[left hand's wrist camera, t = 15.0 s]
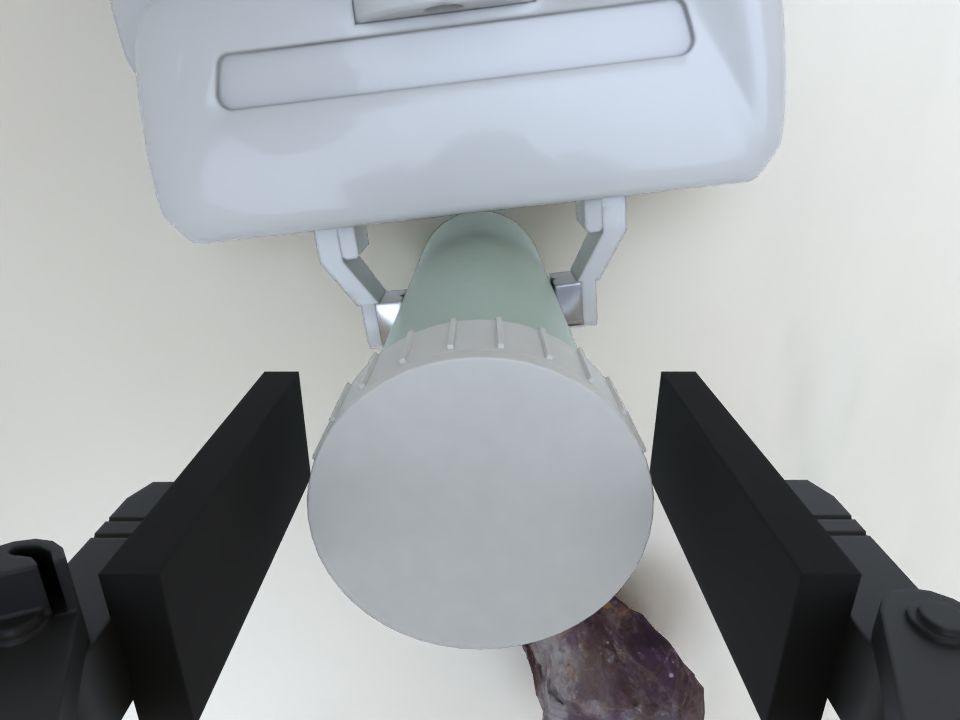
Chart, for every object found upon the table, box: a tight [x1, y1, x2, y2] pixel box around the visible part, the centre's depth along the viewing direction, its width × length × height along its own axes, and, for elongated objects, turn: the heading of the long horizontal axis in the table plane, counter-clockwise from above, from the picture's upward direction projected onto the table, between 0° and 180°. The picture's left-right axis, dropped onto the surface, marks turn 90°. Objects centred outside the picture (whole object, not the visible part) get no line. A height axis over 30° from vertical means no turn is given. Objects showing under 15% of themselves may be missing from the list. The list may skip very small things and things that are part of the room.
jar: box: [382, 211, 578, 351], centre depth 20 cm, size 6×6×19 cm
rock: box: [522, 596, 705, 720], centre depth 32 cm, size 12×9×10 cm
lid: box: [307, 317, 654, 649], centre depth 12 cm, size 6×6×2 cm
